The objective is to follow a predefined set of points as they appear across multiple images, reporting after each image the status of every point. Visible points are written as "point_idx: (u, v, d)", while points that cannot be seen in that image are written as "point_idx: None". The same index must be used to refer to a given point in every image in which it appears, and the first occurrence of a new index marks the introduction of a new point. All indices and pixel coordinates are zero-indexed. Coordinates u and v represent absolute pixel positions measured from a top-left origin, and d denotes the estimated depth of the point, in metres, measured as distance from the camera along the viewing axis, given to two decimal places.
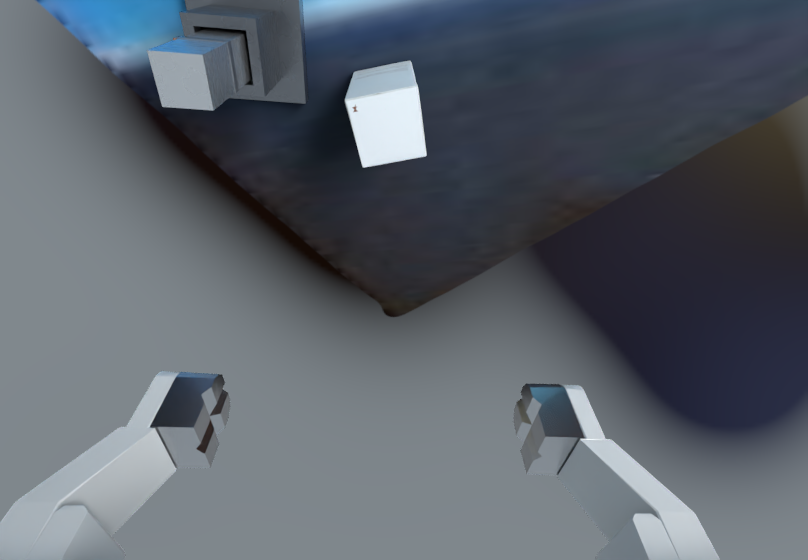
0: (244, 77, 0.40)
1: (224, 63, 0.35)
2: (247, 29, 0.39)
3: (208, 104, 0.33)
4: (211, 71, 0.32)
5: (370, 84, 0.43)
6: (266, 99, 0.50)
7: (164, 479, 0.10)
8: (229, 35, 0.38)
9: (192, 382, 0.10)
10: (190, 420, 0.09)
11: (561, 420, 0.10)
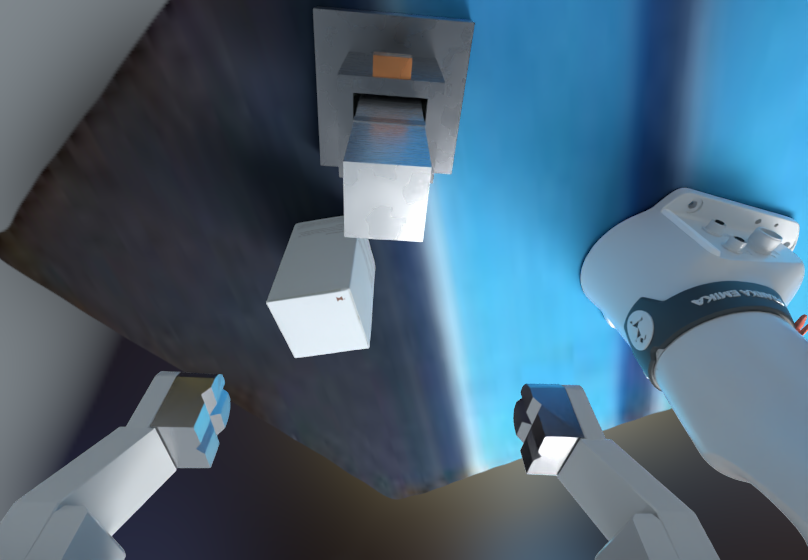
0: None
1: None
2: None
3: (352, 232, 0.21)
4: None
5: (361, 283, 0.37)
6: (320, 112, 0.35)
7: (164, 479, 0.10)
8: None
9: (192, 382, 0.10)
10: (190, 420, 0.09)
11: (561, 420, 0.10)
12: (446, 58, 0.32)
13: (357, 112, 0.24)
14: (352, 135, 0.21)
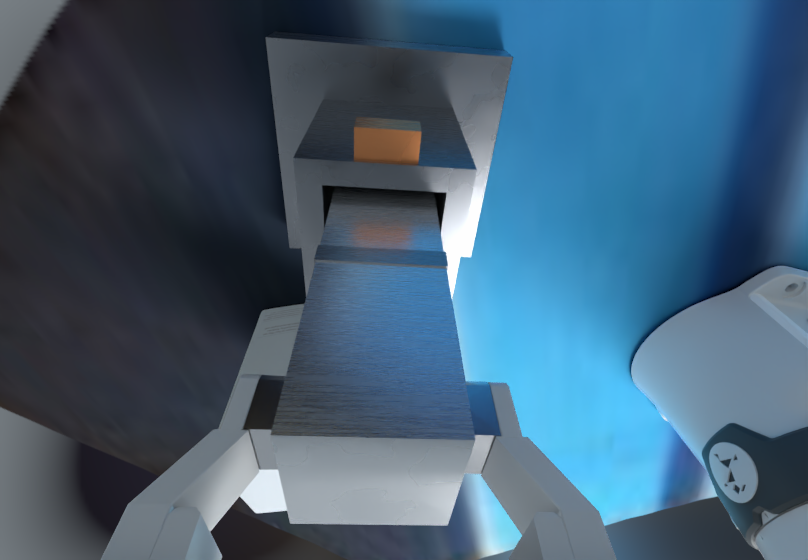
0: None
1: None
2: None
3: (306, 517, 0.10)
4: None
5: None
6: (285, 180, 0.24)
7: (249, 481, 0.10)
8: None
9: (275, 385, 0.10)
10: None
11: (480, 418, 0.10)
12: (468, 107, 0.22)
13: (325, 232, 0.14)
14: (307, 313, 0.11)
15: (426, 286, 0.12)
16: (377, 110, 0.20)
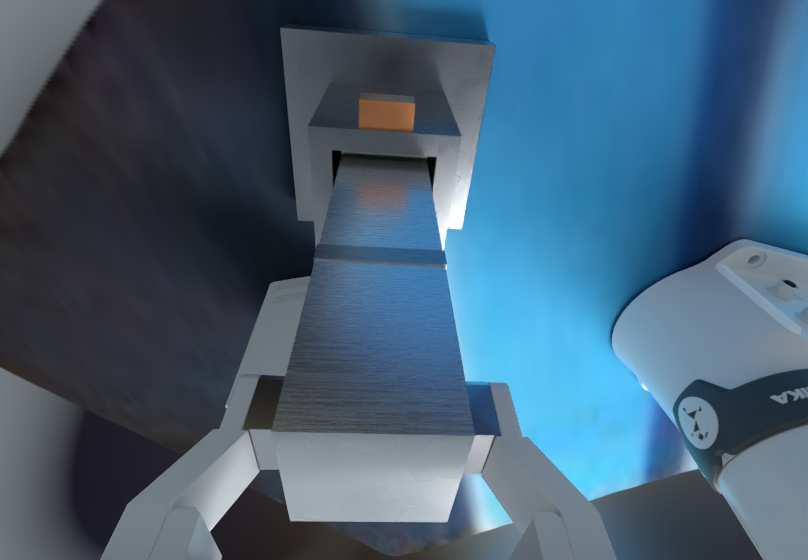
0: None
1: None
2: None
3: (306, 514, 0.10)
4: None
5: None
6: (295, 157, 0.27)
7: (249, 481, 0.10)
8: None
9: (275, 385, 0.10)
10: None
11: (480, 418, 0.10)
12: (457, 90, 0.25)
13: (324, 231, 0.14)
14: (306, 311, 0.11)
15: (425, 284, 0.12)
16: (377, 92, 0.23)
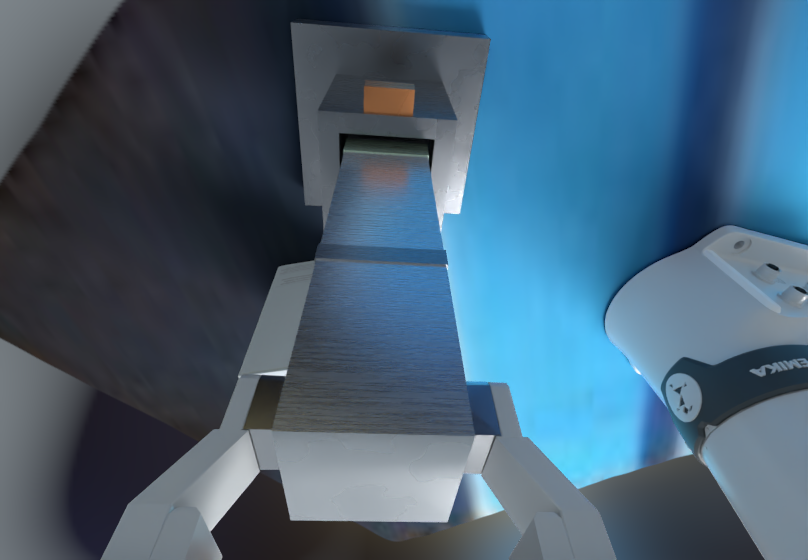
0: None
1: None
2: None
3: (307, 514, 0.10)
4: None
5: None
6: (303, 144, 0.29)
7: (249, 481, 0.10)
8: None
9: (275, 385, 0.10)
10: None
11: (480, 418, 0.10)
12: (455, 81, 0.26)
13: (326, 231, 0.14)
14: (307, 311, 0.11)
15: (426, 284, 0.12)
16: None
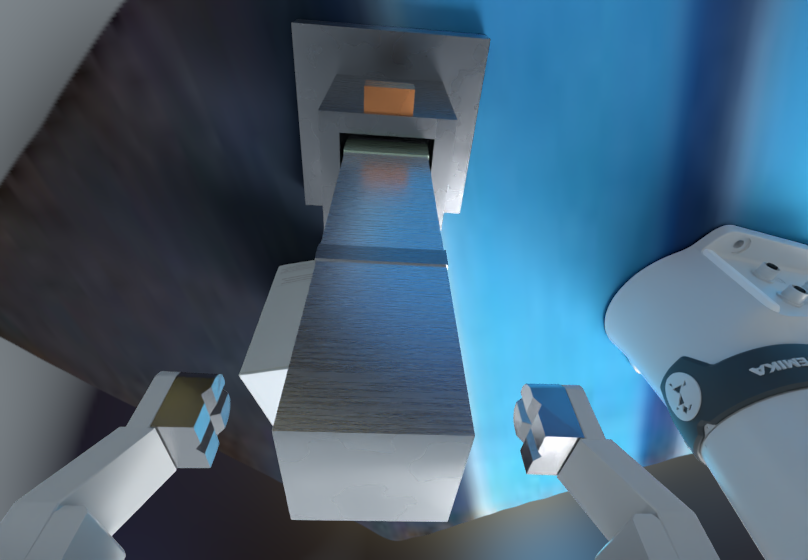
0: None
1: None
2: None
3: (307, 513, 0.10)
4: None
5: None
6: (303, 144, 0.29)
7: (164, 479, 0.10)
8: None
9: (192, 382, 0.10)
10: (190, 420, 0.09)
11: (561, 420, 0.10)
12: (455, 81, 0.27)
13: (326, 231, 0.14)
14: (307, 311, 0.11)
15: (426, 284, 0.12)
16: None
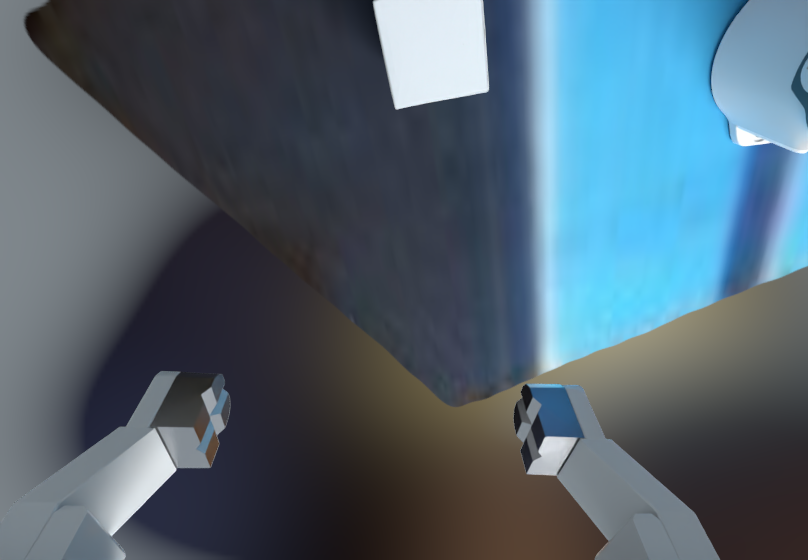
0: None
1: None
2: None
3: None
4: None
5: None
6: None
7: (164, 479, 0.10)
8: None
9: (192, 382, 0.10)
10: (190, 420, 0.09)
11: (561, 420, 0.10)
12: None
13: None
14: None
15: None
16: None
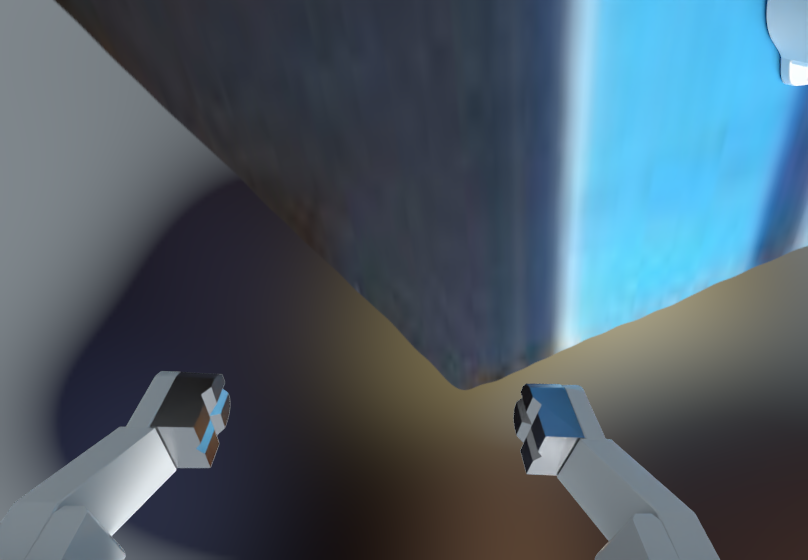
0: None
1: None
2: None
3: None
4: None
5: None
6: None
7: (164, 479, 0.10)
8: None
9: (192, 382, 0.10)
10: (190, 420, 0.09)
11: (561, 420, 0.10)
12: None
13: None
14: None
15: None
16: None
